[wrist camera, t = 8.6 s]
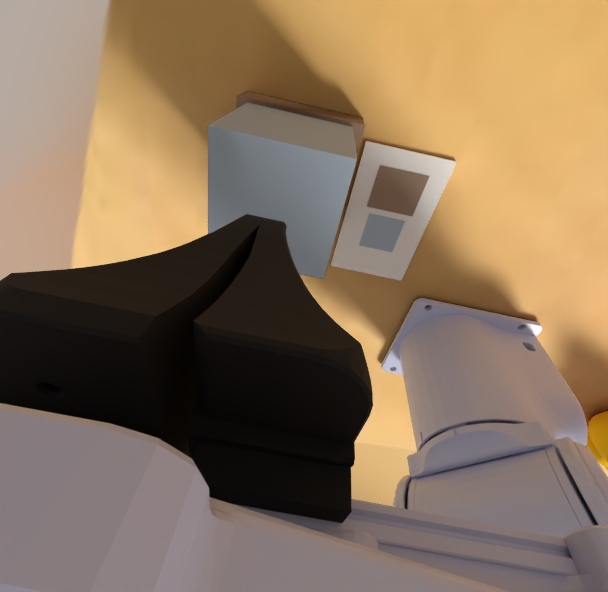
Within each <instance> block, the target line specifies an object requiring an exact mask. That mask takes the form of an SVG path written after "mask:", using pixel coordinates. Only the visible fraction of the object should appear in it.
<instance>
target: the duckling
mask: <svg viewBox="0 0 608 592" xmlns="http://www.w3.org/2000/svg"><path fill="white" fill-rule="evenodd" d="M586 446H587V447H588V448H589V449H590V451H591V452H592V454H593V455H594V457H595V458H596V460H597V461H598V462H599V463H600V464H602V465H604V466H605V467H606V468H607V469H608V411H605V412H602V413H599V414H597V415H595V416H593V417H592V418H591V420H590V421H589V424H588V436H587V445H586Z"/></svg>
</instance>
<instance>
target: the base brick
mask: <svg viewBox="0 0 608 592" xmlns="http://www.w3.org/2000/svg"><path fill="white" fill-rule="evenodd" d="M247 102H248V103H252V104H257V105H261V106H265V107H270V108H274V109H278V110H282V111H287V112H291V113H295V114H300V115H304V116H308V117H313V118H317V119H321V120H326V121H330V122H334V123H338V124H343V125H347V126H351V127H353V131H354V139H355V146H356V154H357V151H358V147H359V143H360V140H361V136H362V133H363V129H364V121H363V118H362V117H358V116H353V115H349V114H345V113H340V112H336V111H331V110H327V109H323V108H318V107H314V106H310V105H305V104H301V103H297V102H292V101H288V100H284V99H279V98H275V97H271V96H266V95H262V94H258V93H253V92H249V91H246V92H244V93H242V94H240V95H238V96H237V108H239V107H240V106H242V105H244V104H246V103H247Z"/></svg>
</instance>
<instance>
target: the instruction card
mask: <svg viewBox="0 0 608 592" xmlns="http://www.w3.org/2000/svg"><path fill="white" fill-rule="evenodd" d="M456 163H457V162H456V161H454V160H449V159H445V158H440V157H436V156H432V155H427V154H423V153H418V152H414V151H410V150H405V149H401V148H397V147H392V146H388V145H383V144H379V143H375V142H370V141H366V142H365V146H364V149H363V153H362V156H361V160H360V163H359V167H358V170H357V174H356V177H355V181H354V184H353V188H352V192H351V195H350V199H349V202H348V206H347V209H346V213H345V216H344V220H343V223H342V227H341V230H340V234H339V237H338V241H337V244H336V248H335V251H334V255H333V258H332V262H331V266H334V267H338V268H343V269H348V270H353V271H357V272H362V273H367V274H372V275H376V276H381V277H386V278H391V279H395V280H400V281H402V278H403V276H404V274H405V272H406V270H407V268H408V266H409V263H410V261H411V259H412V257H413V255H414V253H415V251H416V248H417V246H418V244H419V242H420V240H421V238H422V236H423V234H424V231H425V229H426V227H427V225H428V223H429V221H430V219H431V216H432V214H433V212H434V210H435V208H436V206H437V204H438V201H439V199H440V197H441V195H442V193H443V191H444V189H445V187H446V184H447V182H448V180H449V178H450V176H451V174H452V172H453V169H454V167H455V165H456Z"/></svg>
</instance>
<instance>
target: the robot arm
mask: <svg viewBox="0 0 608 592" xmlns="http://www.w3.org/2000/svg"><path fill="white" fill-rule="evenodd" d="M286 228H287V226H286V224H285V223H284V222H282V221H277V220H273V219H268V218H263V217H259V216H254V215H249V214H246V215H244V216H242V217H240V218H238V219H236V220H234V221H233V222H231V223H229V224H227V225H225V226H223V227H222V228H220V229H218V230H216V231H214V232H212V233H210V234H207V235H205V236H203V237H201V238H199V239H196V240H194V241H192V242H190V243H187V244H185V245H182V246H179V247H176V248H173V249H170V250H167V251H164V252H161V253H157V254H153V255H149V256H145V257H140V258H136V259H132V260H127V261H123V262H117V263H111V264H105V265H99V266H91V267H84V268H75V269H67V270H52V271H39V272H26V273H11V274H9V275H8V276H7V277H5V278H4V279H2V280H1V281H0V592H608V477H607V476H606V474H605V472H604V471H603V469H602V468H601V466H600V465H599V463H598V461H597V460H596V458H595V457H594V455H593V454H592V452H591V451H590V449H589V448H588V447H587V446H586V445H587V436H588V432H587V423H586V418H585V415H584V411H583V409H582V407H581V404H580V403H579V401H578V399H577V398H576V396H575V395H574V393H573V392H572V390H571V389H570V387H569V386H568V384H567V383H566V381H565V380H564V378H563V377H562V375H561V374H560V372H559V371H558V369H557V368H556V366H555V365H554V363H553V362H552V360H551V359H550V357H549V356H548V354H547V353H546V351H545V350H544V348H543V347H542V345H541V344H540V342H539V341H538V339H537V338H536V336H537V335H538V334H539V333H540V332H541V331H542V326H541V324H540V323H538V322H535V321H530V320H526V319H521V318H516V317H511V316H506V315H502V314H497V313H492V312H487V311H483V310H478V309H473V308H468V307H463V306H459V305H454V304H449V303H444V302H440V301H435V300H430V299H425V298H419V299H416V300H415V301H414V303H413V305H412V307H411V308H410V310H409V312H408V314H407V316H406V318H405V320H404V322H403V324H402V326H401V327H400V329H399V331H398V333H397V335H396V337H395V339H394V341H393V343H392V345H391V346H390V348H389V350H388V352H387V354H386V356H385V358H384V360H383V362H382V364H381V368H382V370H384V371H387V372H392V373H397V374H402V375H403V377H404V383H405V388H406V394H407V399H408V404H409V410H410V415H411V421H412V426H413V431H414V437H415V442H416V448H417V453H414V454H412V455H409V456H408V457H407V459H408V465H409V471H410V475H406V476H404V477H403V478H402V479H401V480H400V481H399V483H398V485H397V489H396V493H395V498H394V503H393V506H387V505H381V504H376V503H371V502H365V501H360V500H354V499H351V467H352V466H353V465H354V460H355V454H354V441H355V440H356V438H357V436H358V435H359V433H360V431H361V429H362V428H363V426H364V424H365V423H366V421H367V419H368V417H369V416H370V413H371V409H372V406H373V402H372V386H371V380H370V376H369V371H368V367H367V363H366V360H365V356H364V353H363V349H362V346H361V344H360V343H359V342H358V341H357V340H356V339H355V338H353V337H352V336H351V335H350V334H349V333H347V332H346V331H345V330H344V329H343V328H341V327H340V326H339V325H338V324H337V323H336V322H335V321H334V320H333V319H332V318H331V317H330V316H329V315H328V314H327V313H326V312H325V311H324V310H323V309H322V308H321V307H320V305H319V304H318V303H317V302H316V300H315V299H314V298H313V297H312V295H311V294H310V292H309V291H308V289H307V288H306V286H305V284H304V283H303V281H302V279H301V277H300V275H299V273H298V271H297V269H296V266H295V264H294V262H293V259H292V256H291V253H290V250H289V246H288V242H287V237H286ZM427 305H430V306H429V307H425V306H427ZM520 325H521V326H520Z"/></svg>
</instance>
